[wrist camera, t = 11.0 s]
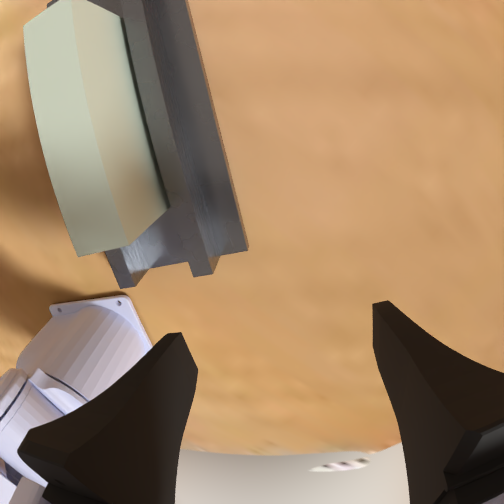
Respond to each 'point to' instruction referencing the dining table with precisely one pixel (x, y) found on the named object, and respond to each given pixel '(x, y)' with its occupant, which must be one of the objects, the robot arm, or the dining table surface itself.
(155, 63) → the rail
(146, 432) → the robot arm
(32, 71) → the sage green block
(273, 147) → the dining table surface
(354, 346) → the dining table surface
